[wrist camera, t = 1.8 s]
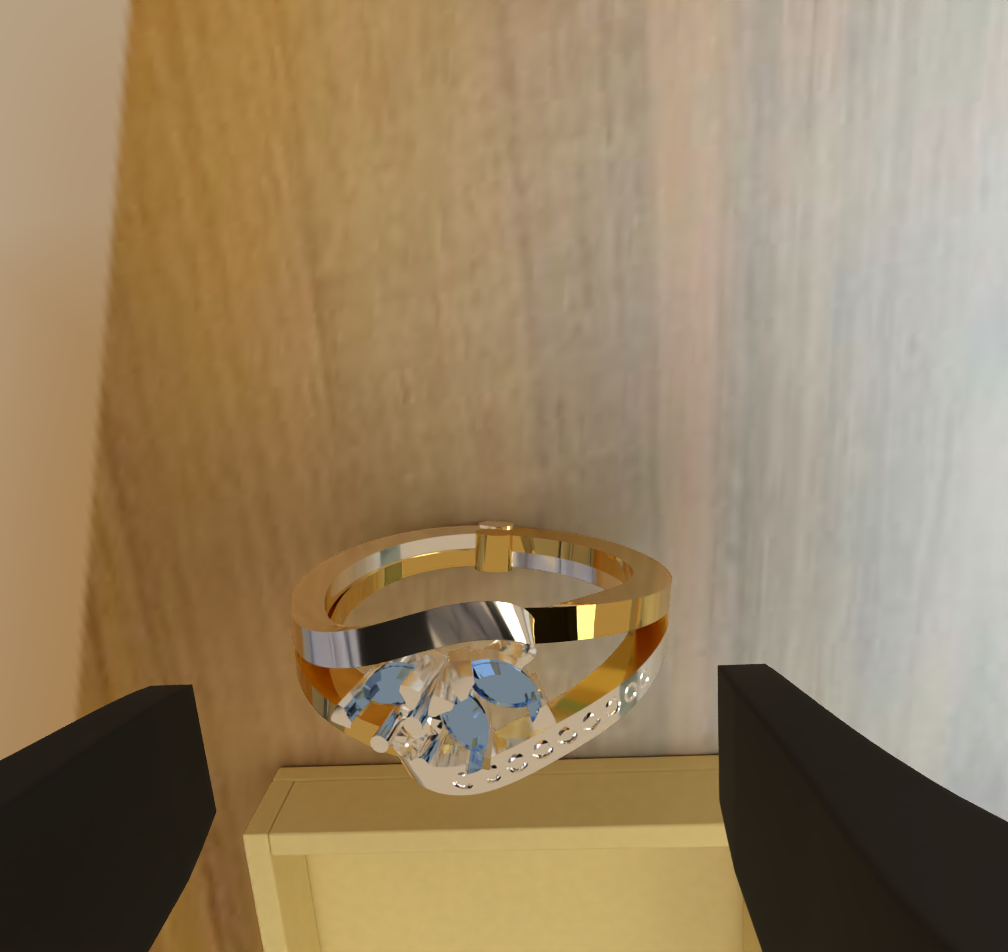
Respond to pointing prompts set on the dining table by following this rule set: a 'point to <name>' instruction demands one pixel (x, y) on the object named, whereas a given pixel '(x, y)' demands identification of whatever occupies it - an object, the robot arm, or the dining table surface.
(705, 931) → the yellow tray
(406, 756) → the ring
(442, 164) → the dining table surface
